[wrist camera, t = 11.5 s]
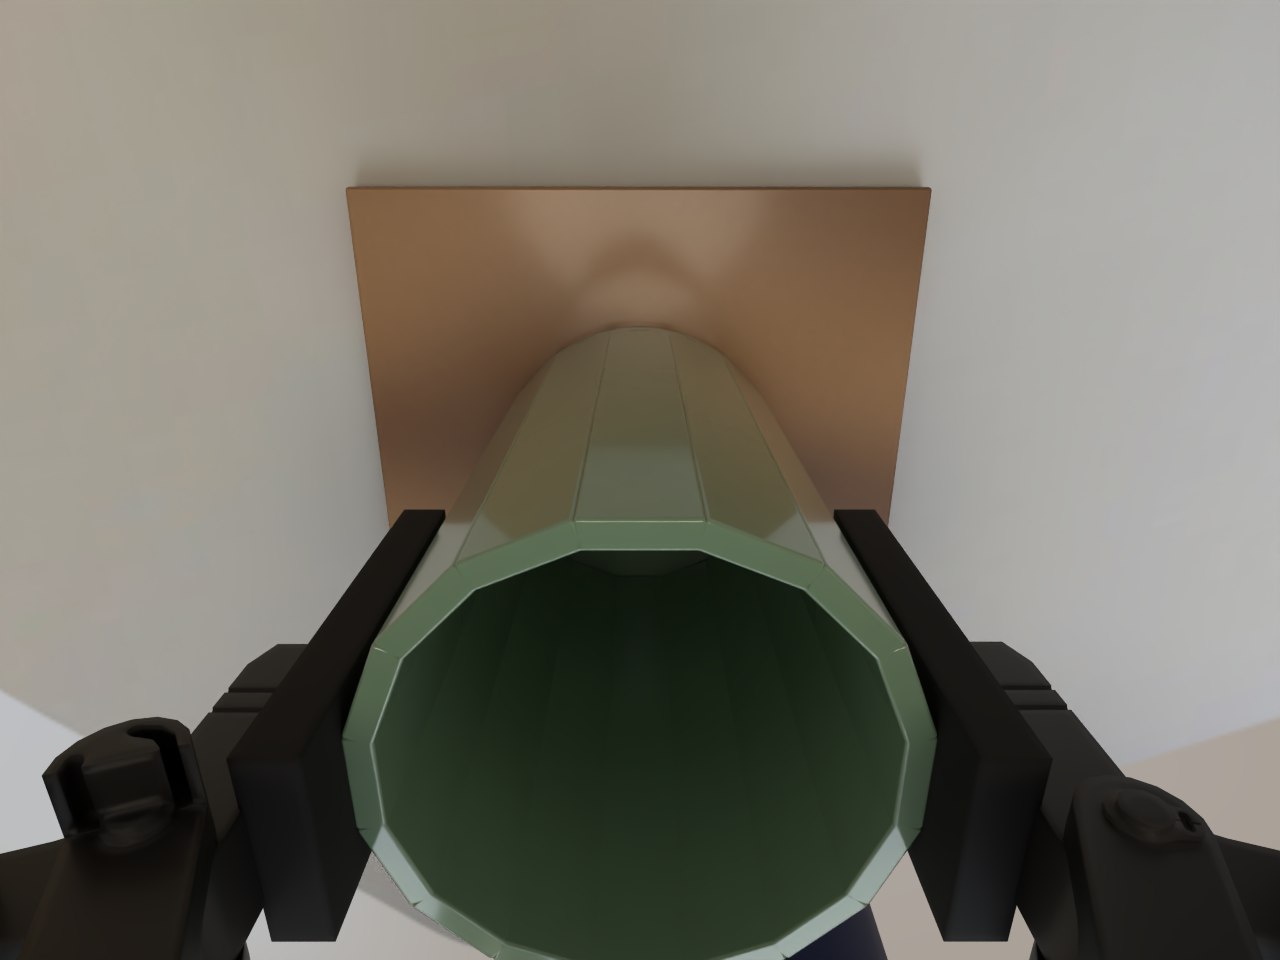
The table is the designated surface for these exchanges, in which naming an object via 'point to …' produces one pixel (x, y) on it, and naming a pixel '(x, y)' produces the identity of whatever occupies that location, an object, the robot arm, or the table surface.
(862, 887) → the cup
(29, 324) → the table surface
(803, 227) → the cork tile
